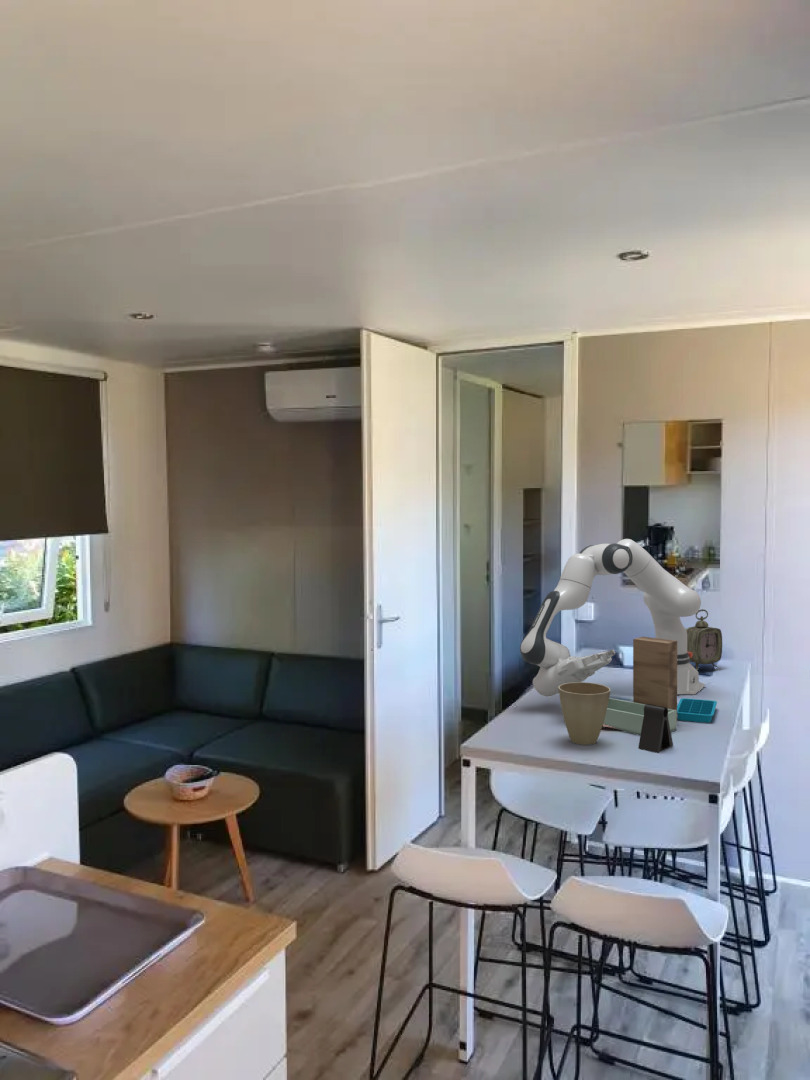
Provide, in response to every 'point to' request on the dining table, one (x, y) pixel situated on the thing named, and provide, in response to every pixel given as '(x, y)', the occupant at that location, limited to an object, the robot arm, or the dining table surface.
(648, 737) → the phone stand
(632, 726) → the green tray
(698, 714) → the ice cube tray
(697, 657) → the tabletop clock
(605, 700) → the plant pot
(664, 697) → the walnut stand
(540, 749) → the dining table surface
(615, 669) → the dining table surface
